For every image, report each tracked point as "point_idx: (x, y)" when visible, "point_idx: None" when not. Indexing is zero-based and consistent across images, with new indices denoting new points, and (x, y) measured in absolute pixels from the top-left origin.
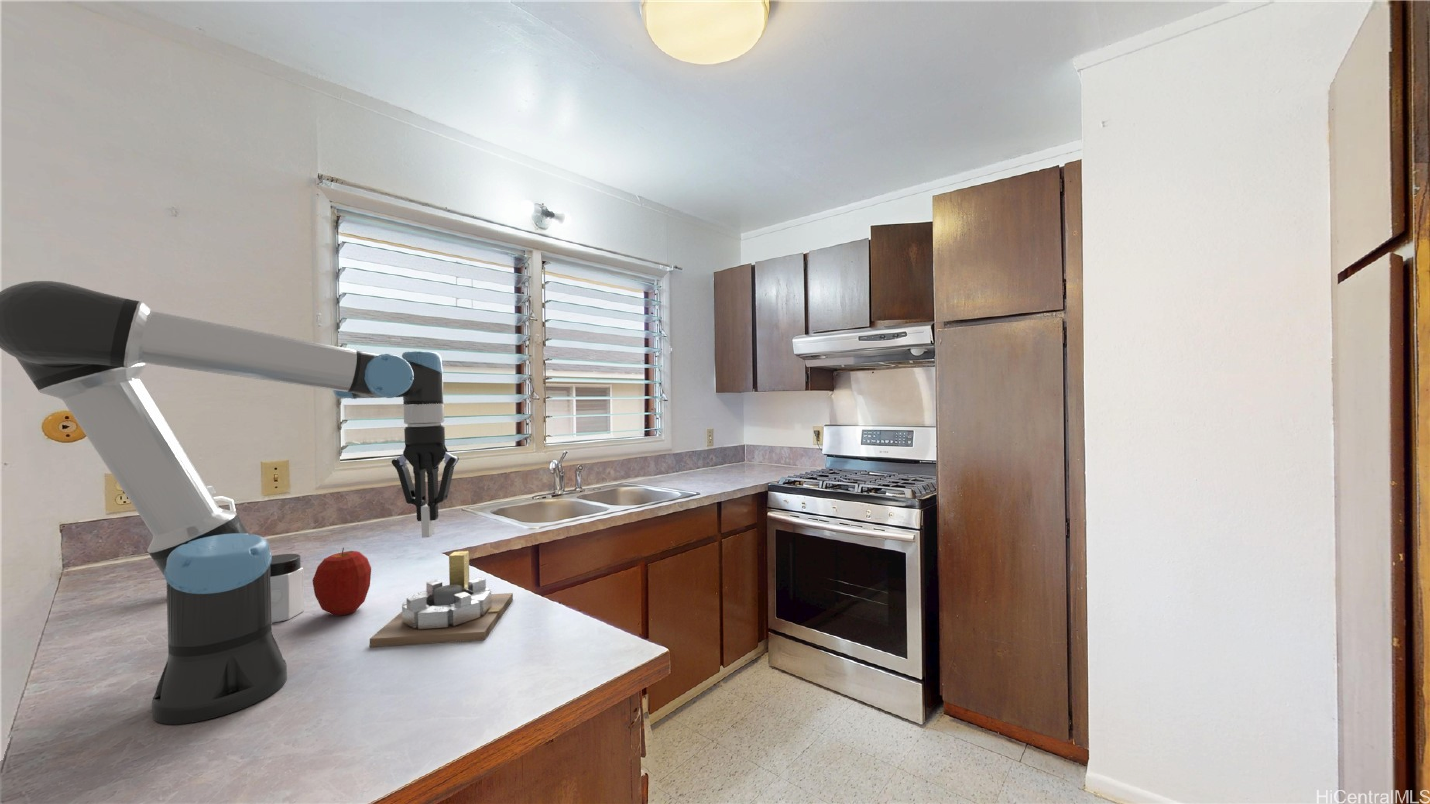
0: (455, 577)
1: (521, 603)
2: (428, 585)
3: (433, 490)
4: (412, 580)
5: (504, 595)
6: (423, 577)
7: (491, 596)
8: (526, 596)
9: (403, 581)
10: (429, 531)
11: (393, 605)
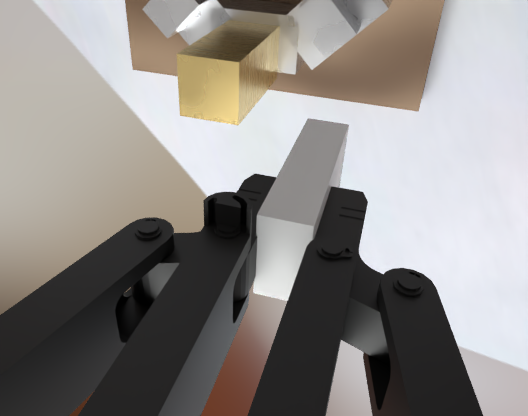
0: (245, 34)
1: (109, 26)
2: (346, 17)
3: (160, 298)
4: (477, 319)
5: (149, 54)
6: None
7: None
8: (115, 81)
9: (504, 321)
10: (300, 135)
11: (501, 125)
